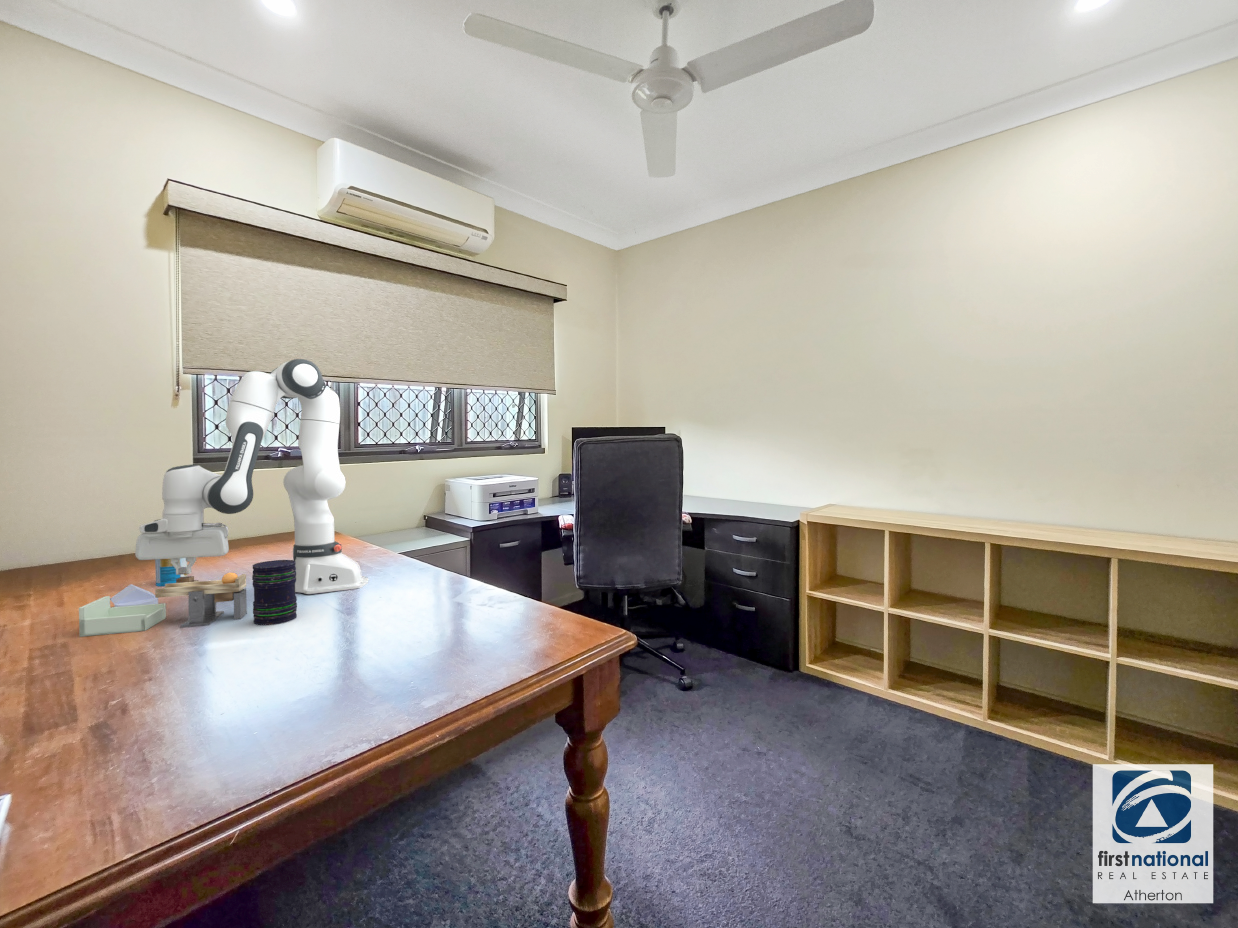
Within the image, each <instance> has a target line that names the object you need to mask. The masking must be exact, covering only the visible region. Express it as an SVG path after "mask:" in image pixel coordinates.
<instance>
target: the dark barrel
mask: <svg viewBox="0 0 1238 928" xmlns="http://www.w3.org/2000/svg"><path fill="white" fill-rule="evenodd" d="M295 565H296V561H294V560H293V559H274V560H268V561H261V562H257V563H254V564H252V576H251V578H252V588H253V599H254V600H253V602H252V607H253V608H252V614H253V624H254V625H255V626H274V625H279V624H285V623H289V622H291V621H293V620H296V619H297V617H298V616H297V611H298V610H297V608H298V602H297V600H298V598H297V596H296V592H295V583H296V566H295Z"/></svg>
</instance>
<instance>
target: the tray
mask: <svg viewBox="0 0 1238 928" xmlns="http://www.w3.org/2000/svg"><path fill="white" fill-rule="evenodd" d="M110 598H111V595H107V596H106V595H105V596H103V597H100V598H98V599H96V600H94V601H91V602H89V603H86V604H85V605H83V606H82V605H81V606H80V607H78V621H79V623H78V624H79V627H78V629H79V630H78V632H79V638H81V637H92V636H102V635H103V636H104V635H111V634H112V635H114V634H116V635H117V634H125V633H137V632H145V631H148V630H149V629H150V628H152V627H154V626H155V625H157V624H158V623H160V622H162V621H163V620H165V619H166V618H167V614H166V612H167V611H166V609H167V607H166V602H163V603H158V604H148V605H135V606H123V607H114V606H112V607H111V600H110Z"/></svg>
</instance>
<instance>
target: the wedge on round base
mask: <svg viewBox="0 0 1238 928" xmlns="http://www.w3.org/2000/svg"><path fill="white" fill-rule="evenodd" d="M110 602H112V603H113V607H123V606H135V605H148V604H159V598H155V594H154V593H153V592H152V591H148V590H147V589H144V588H141V587H139V586H136V585H135V584H132V583H131V584H128V585H127V586H126V587H124V588H123V589H122V590H120V591H119V592H118V593H116V594H115V595H113V596H112V597H110Z"/></svg>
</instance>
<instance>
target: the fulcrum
mask: <svg viewBox="0 0 1238 928" xmlns="http://www.w3.org/2000/svg"><path fill="white" fill-rule="evenodd" d="M247 595H248V594H247V588H246V587H245V588H243V589H242V590H240V591H239V592H235V593H234V600H233V620H234V621H235V620H241V619H243V618H244V617H245V616H246V615H247V614H248V610H247V609H248V607H247V606H248V605H247V604H248V603H247V601H248V600H247ZM187 596H188V619H187V620H186V621H184V622H182V624H180V625H179V626H180V628H181V629H182V628H191V627H201V626H203V627H204V626H210V625H211V624H212V623H213V622H214V621H216V620H217V619H219V618H220V617H222V615H224V614H225V610H220V611H219V610H218V611H217V602H215V599H214V593H213V594H204V590H202V591H190V592H188V595H187Z"/></svg>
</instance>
